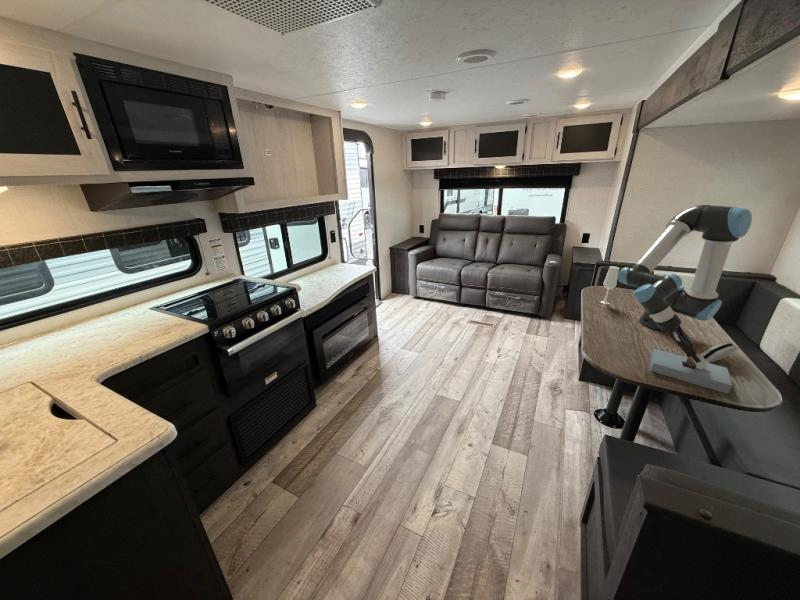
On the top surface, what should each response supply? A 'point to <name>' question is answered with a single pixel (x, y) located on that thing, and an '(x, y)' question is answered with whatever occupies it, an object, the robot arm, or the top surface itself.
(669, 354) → the hole block
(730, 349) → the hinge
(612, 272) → the champagne flute
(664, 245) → the robot arm
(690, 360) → the peg
